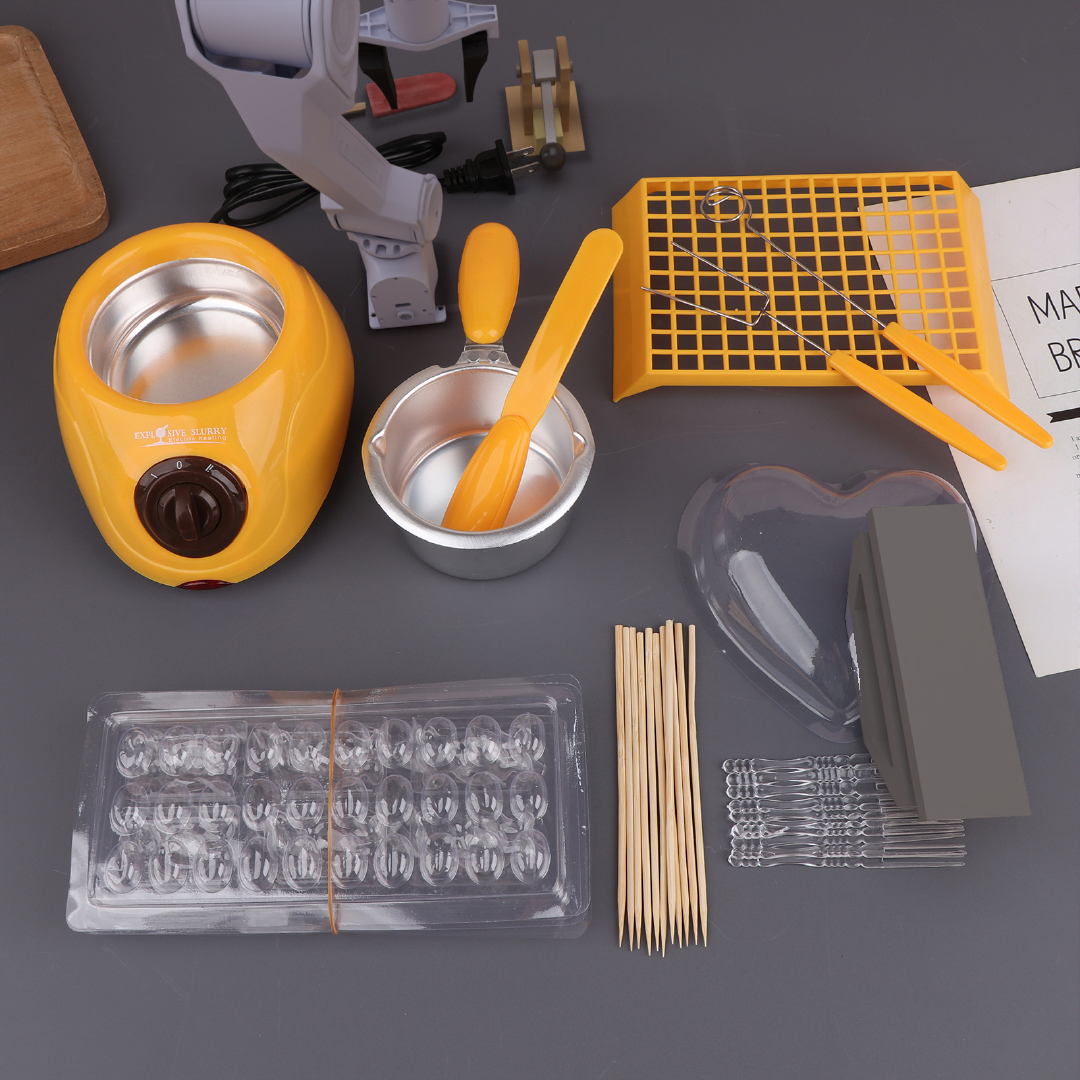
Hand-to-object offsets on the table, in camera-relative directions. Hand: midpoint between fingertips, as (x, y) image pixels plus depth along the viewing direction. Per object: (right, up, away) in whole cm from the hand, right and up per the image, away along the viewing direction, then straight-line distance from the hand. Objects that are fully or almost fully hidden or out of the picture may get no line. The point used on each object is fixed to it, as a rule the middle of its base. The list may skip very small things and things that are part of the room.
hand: (431, 98), depth 91 cm
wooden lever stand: (+12, +2, +10) cm, 16 cm away
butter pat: (+12, 0, +8) cm, 15 cm away
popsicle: (-6, +5, +12) cm, 14 cm away
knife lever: (+12, 0, +5) cm, 13 cm away
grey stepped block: (+43, -58, -10) cm, 73 cm away
